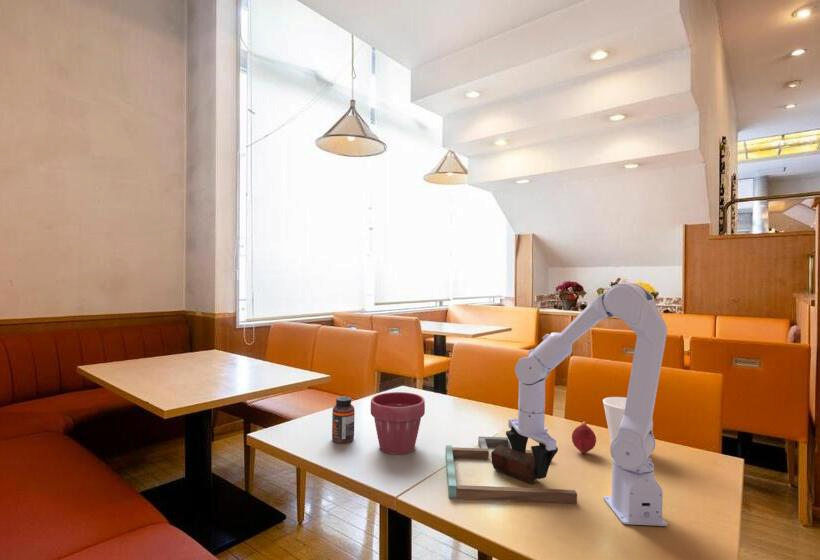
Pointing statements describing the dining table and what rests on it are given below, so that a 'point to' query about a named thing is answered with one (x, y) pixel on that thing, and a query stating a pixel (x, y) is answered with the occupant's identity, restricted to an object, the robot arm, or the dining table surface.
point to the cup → (614, 414)
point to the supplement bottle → (343, 420)
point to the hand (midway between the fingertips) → (529, 469)
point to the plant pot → (397, 420)
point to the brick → (514, 463)
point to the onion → (583, 438)
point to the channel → (497, 492)
